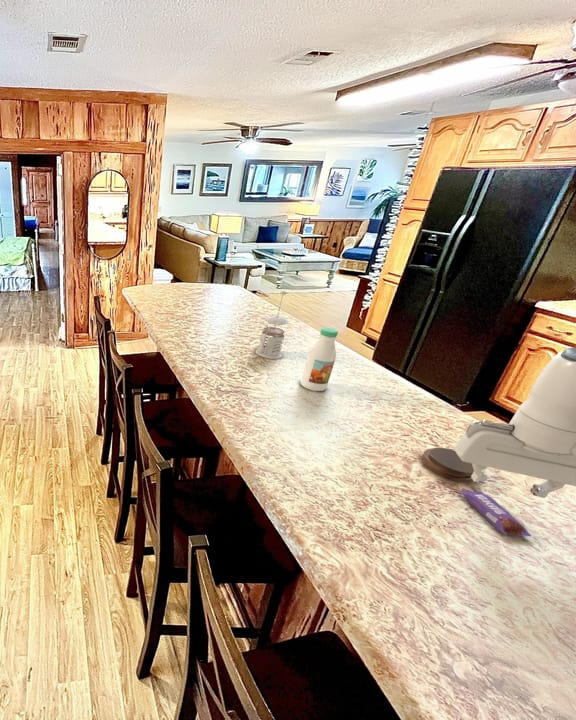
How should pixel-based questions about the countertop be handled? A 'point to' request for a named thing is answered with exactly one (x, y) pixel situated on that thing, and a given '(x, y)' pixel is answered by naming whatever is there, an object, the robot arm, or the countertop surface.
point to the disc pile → (447, 464)
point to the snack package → (495, 513)
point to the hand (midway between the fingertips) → (506, 487)
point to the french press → (273, 342)
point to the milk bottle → (320, 361)
